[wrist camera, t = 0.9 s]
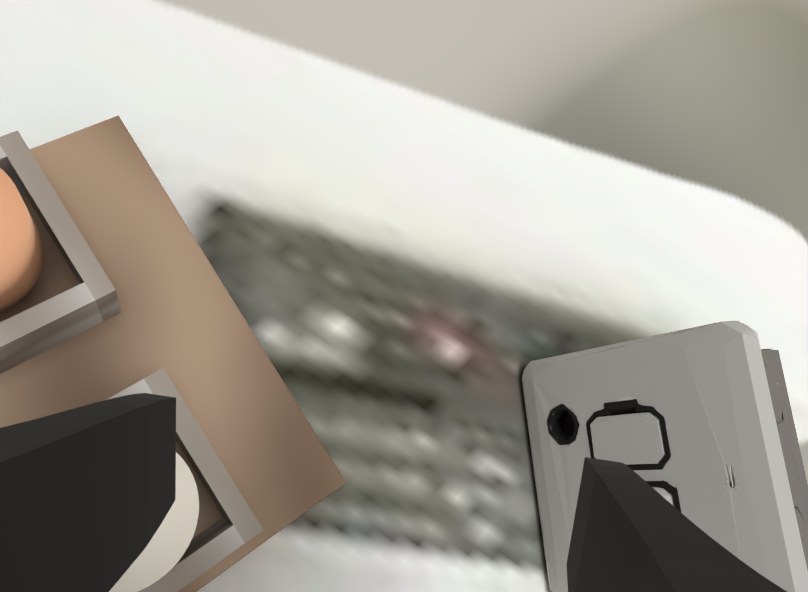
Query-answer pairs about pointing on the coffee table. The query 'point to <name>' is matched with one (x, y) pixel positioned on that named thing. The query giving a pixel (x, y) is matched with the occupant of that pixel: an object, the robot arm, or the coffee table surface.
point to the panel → (152, 343)
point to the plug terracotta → (17, 246)
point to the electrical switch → (676, 441)
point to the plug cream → (166, 536)
